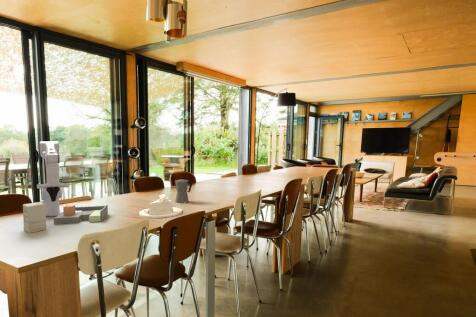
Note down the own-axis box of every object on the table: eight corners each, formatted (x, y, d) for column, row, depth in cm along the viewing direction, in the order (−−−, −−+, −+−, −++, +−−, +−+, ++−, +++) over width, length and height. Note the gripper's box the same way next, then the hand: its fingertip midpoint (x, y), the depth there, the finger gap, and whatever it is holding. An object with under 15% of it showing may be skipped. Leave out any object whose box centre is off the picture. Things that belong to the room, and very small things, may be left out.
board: (53, 224, 147) (53, 213, 147) (64, 216, 162) (64, 206, 162) (102, 221, 153) (101, 211, 152) (107, 214, 168) (107, 204, 168)
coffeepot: (170, 202, 203) (170, 176, 202) (179, 199, 211) (178, 175, 210) (187, 204, 196) (187, 178, 195) (196, 201, 204) (196, 176, 203)
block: (63, 215, 153) (63, 206, 153) (66, 213, 157) (66, 205, 157) (72, 214, 154) (72, 206, 154) (75, 212, 158) (75, 204, 158)
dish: (161, 207, 189) (161, 190, 188) (190, 211, 176) (190, 193, 175) (129, 214, 167) (129, 195, 167) (160, 220, 155) (160, 200, 154)
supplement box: (41, 226, 142) (40, 201, 141) (46, 229, 137) (45, 203, 137) (23, 230, 136) (22, 204, 136) (28, 233, 132) (27, 206, 131)
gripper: (34, 177, 147) (34, 203, 148) (65, 176, 151) (66, 201, 151) (39, 175, 154) (40, 200, 154) (69, 175, 157) (70, 199, 158)
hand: (53, 201), depth 153 cm, fingers closed
